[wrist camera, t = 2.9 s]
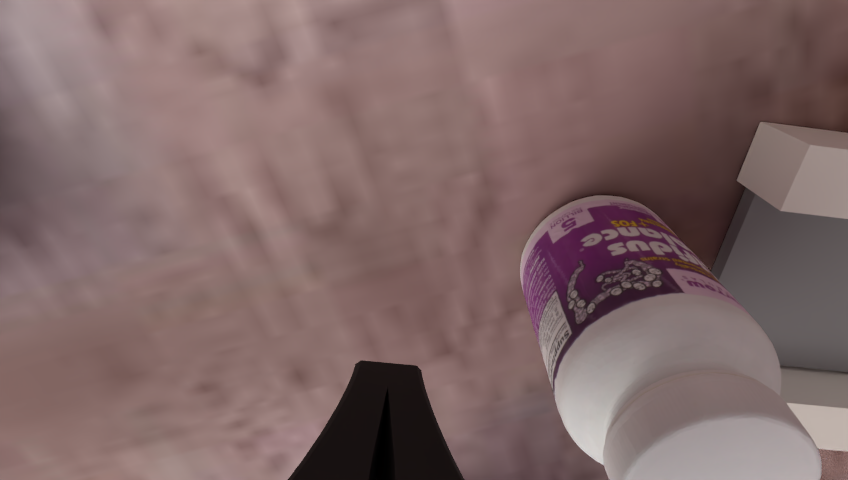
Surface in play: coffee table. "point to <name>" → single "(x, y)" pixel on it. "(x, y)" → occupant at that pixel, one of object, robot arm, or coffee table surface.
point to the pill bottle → (655, 353)
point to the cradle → (797, 267)
